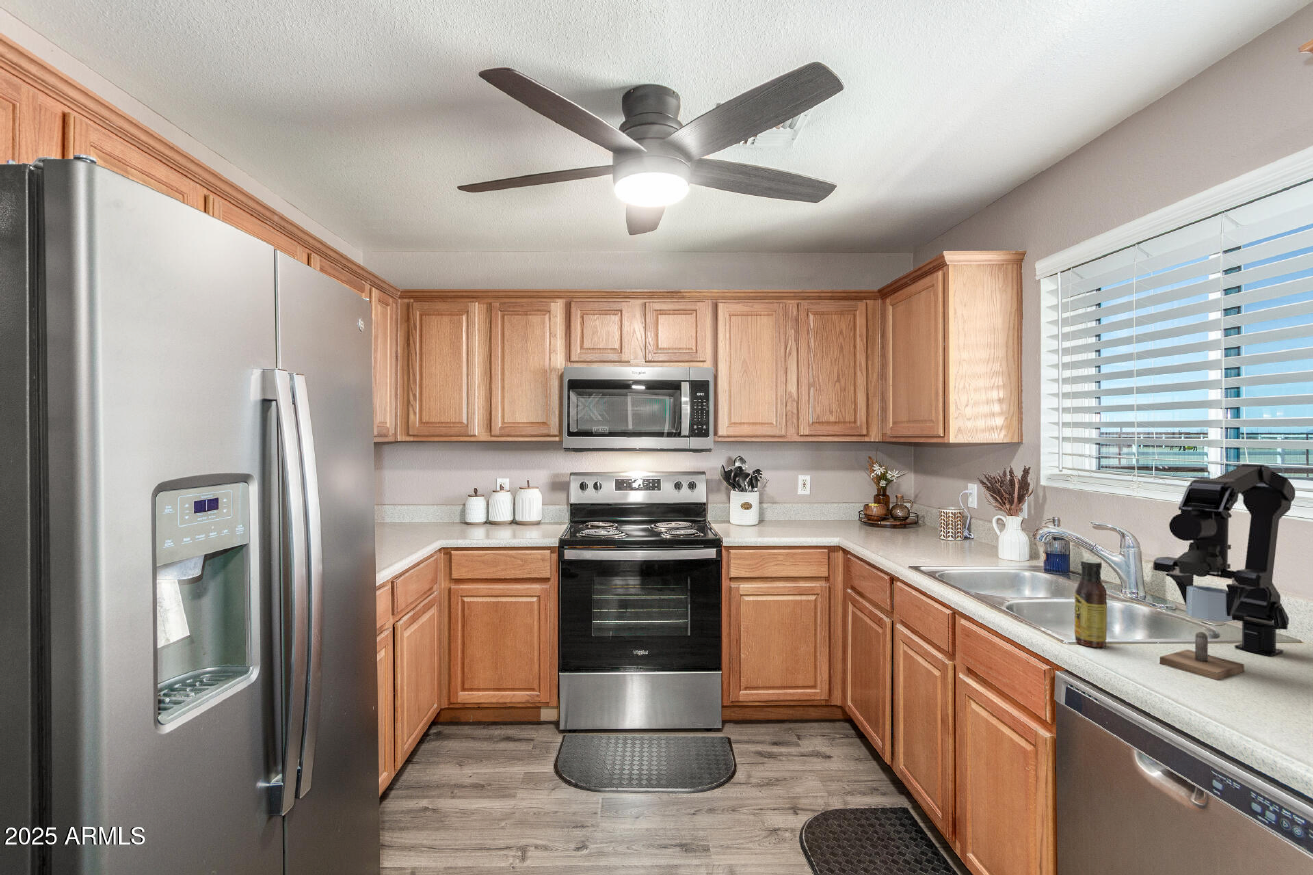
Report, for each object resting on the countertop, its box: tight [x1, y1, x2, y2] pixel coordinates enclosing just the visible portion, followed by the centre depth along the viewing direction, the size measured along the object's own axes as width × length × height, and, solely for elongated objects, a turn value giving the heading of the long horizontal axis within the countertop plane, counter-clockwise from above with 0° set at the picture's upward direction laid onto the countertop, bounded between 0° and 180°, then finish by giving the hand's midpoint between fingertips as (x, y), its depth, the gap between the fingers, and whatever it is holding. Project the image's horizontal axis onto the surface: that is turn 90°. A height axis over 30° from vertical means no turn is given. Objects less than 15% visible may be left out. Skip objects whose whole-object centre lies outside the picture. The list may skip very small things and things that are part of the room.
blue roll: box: [1185, 584, 1233, 623], centre depth 136 cm, size 7×7×6 cm
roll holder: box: [1159, 631, 1245, 681], centre depth 134 cm, size 11×10×8 cm
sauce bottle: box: [1074, 558, 1108, 649], centre depth 149 cm, size 7×6×20 cm
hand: (1208, 611), depth 136 cm, fingers closed on blue roll, 7 cm apart
